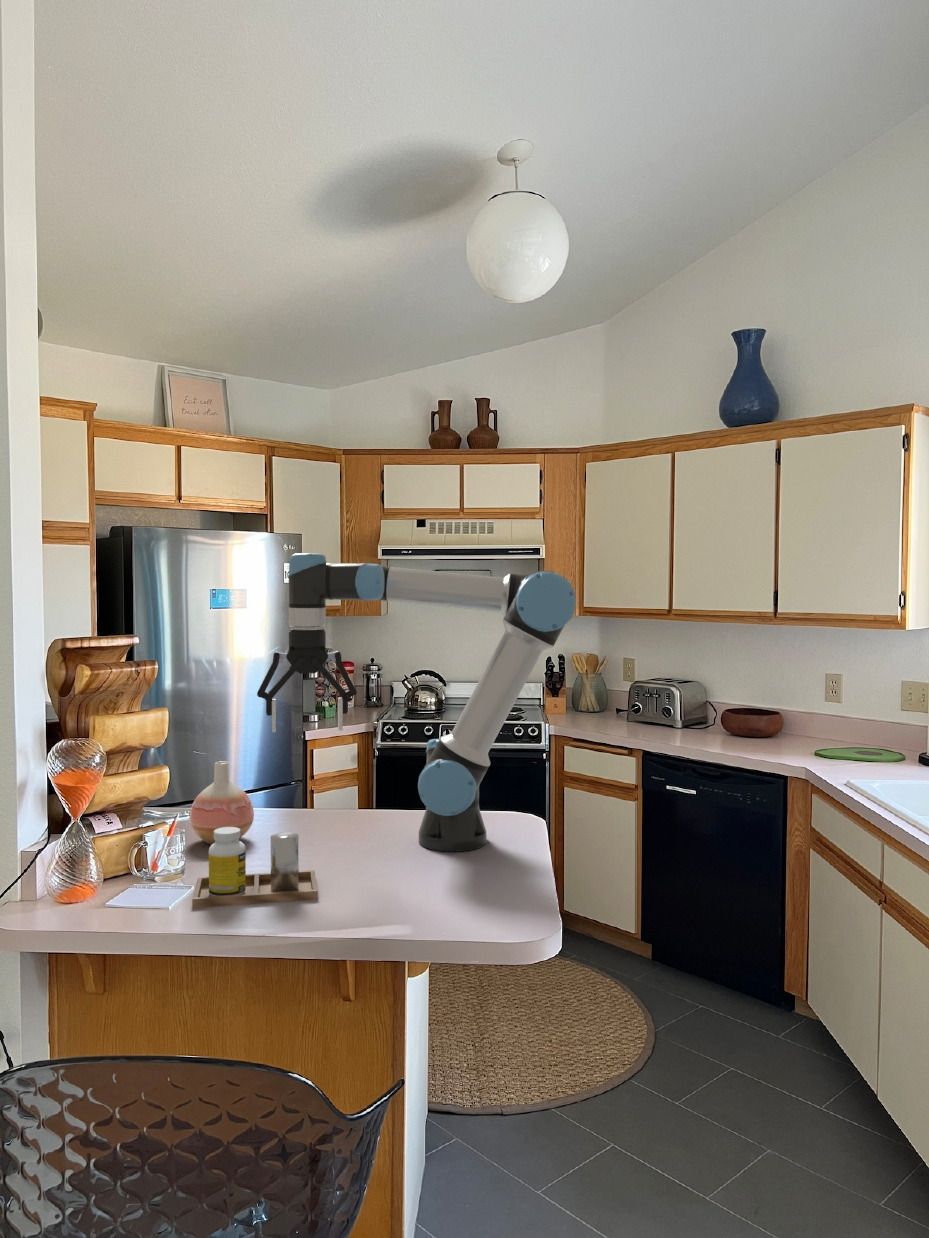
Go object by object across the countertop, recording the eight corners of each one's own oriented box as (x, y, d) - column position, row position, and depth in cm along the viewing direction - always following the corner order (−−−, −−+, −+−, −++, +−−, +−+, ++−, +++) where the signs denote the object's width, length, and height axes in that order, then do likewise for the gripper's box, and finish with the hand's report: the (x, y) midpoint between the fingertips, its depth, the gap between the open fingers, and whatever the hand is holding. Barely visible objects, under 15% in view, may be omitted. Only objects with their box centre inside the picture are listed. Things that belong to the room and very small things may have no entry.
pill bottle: (235, 901, 156) (235, 836, 156) (202, 898, 158) (201, 834, 157) (251, 888, 163) (251, 826, 162) (219, 886, 164) (218, 824, 164)
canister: (298, 884, 165) (298, 831, 165) (299, 893, 160) (298, 839, 160) (270, 886, 164) (270, 833, 164) (270, 895, 159) (270, 840, 159)
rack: (314, 883, 169) (314, 869, 169) (317, 905, 158) (317, 890, 158) (197, 891, 165) (197, 877, 165) (192, 914, 153) (192, 899, 153)
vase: (220, 854, 187) (220, 771, 186) (176, 844, 194) (175, 764, 193) (266, 838, 198) (266, 760, 198) (223, 829, 206) (223, 753, 205)
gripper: (365, 627, 190) (365, 725, 191) (245, 627, 184) (246, 728, 185) (369, 629, 182) (369, 731, 183) (244, 629, 177) (244, 735, 178)
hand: (307, 730), depth 184 cm, fingers open, 13 cm apart
